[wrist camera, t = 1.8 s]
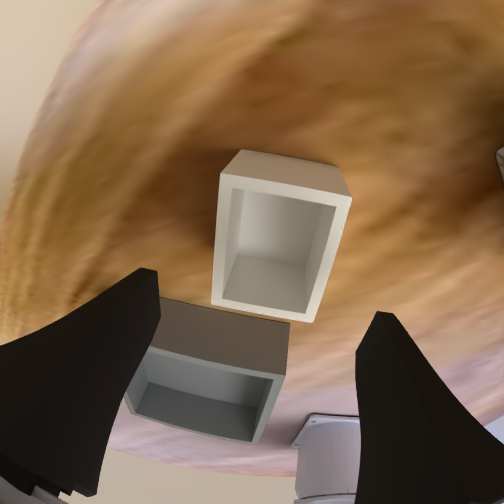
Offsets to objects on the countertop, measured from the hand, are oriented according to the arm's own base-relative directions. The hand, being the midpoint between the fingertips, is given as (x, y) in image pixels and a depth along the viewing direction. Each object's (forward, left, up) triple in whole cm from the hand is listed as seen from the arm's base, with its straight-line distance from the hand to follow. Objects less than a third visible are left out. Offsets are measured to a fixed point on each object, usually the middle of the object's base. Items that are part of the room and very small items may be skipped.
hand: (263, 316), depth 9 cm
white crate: (0, 0, -8) cm, 8 cm away
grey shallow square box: (-14, +4, -8) cm, 17 cm away
